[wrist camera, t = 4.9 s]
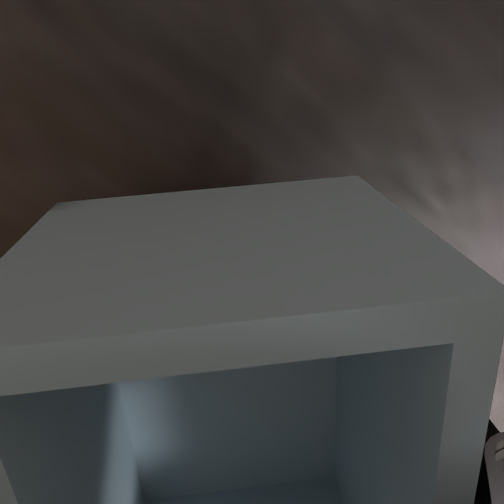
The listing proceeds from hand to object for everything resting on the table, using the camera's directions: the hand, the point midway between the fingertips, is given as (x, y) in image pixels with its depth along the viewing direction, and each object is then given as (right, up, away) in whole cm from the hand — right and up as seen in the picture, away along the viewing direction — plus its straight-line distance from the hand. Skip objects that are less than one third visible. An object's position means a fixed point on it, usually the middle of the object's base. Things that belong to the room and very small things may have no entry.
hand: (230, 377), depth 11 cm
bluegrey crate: (0, 0, +1) cm, 1 cm away
